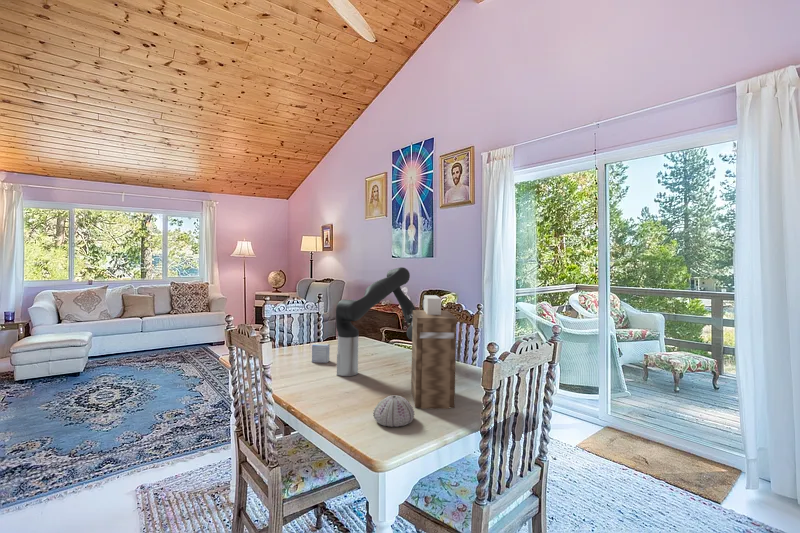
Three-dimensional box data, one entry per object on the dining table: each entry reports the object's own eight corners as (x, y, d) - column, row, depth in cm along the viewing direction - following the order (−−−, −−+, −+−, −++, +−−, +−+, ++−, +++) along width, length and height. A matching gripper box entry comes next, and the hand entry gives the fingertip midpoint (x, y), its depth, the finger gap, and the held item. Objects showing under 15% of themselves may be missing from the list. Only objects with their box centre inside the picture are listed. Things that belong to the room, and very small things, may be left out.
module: (427, 314, 146) (427, 298, 146) (421, 307, 167) (421, 293, 166) (440, 314, 146) (441, 298, 146) (433, 307, 167) (433, 293, 167)
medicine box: (329, 360, 199) (329, 343, 199) (327, 363, 194) (327, 345, 194) (314, 360, 200) (314, 343, 199) (311, 362, 195) (311, 345, 195)
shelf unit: (415, 409, 138) (417, 318, 137) (410, 389, 158) (412, 310, 157) (455, 409, 138) (457, 318, 138) (445, 389, 159) (447, 310, 158)
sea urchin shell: (416, 429, 122) (417, 404, 122) (373, 430, 121) (373, 404, 120) (412, 412, 135) (412, 389, 135) (372, 413, 134) (372, 389, 134)
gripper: (405, 314, 199) (407, 301, 185) (433, 314, 200) (437, 301, 186) (405, 328, 196) (407, 316, 182) (433, 328, 197) (438, 316, 182)
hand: (422, 309), depth 184 cm, fingers open, 8 cm apart
